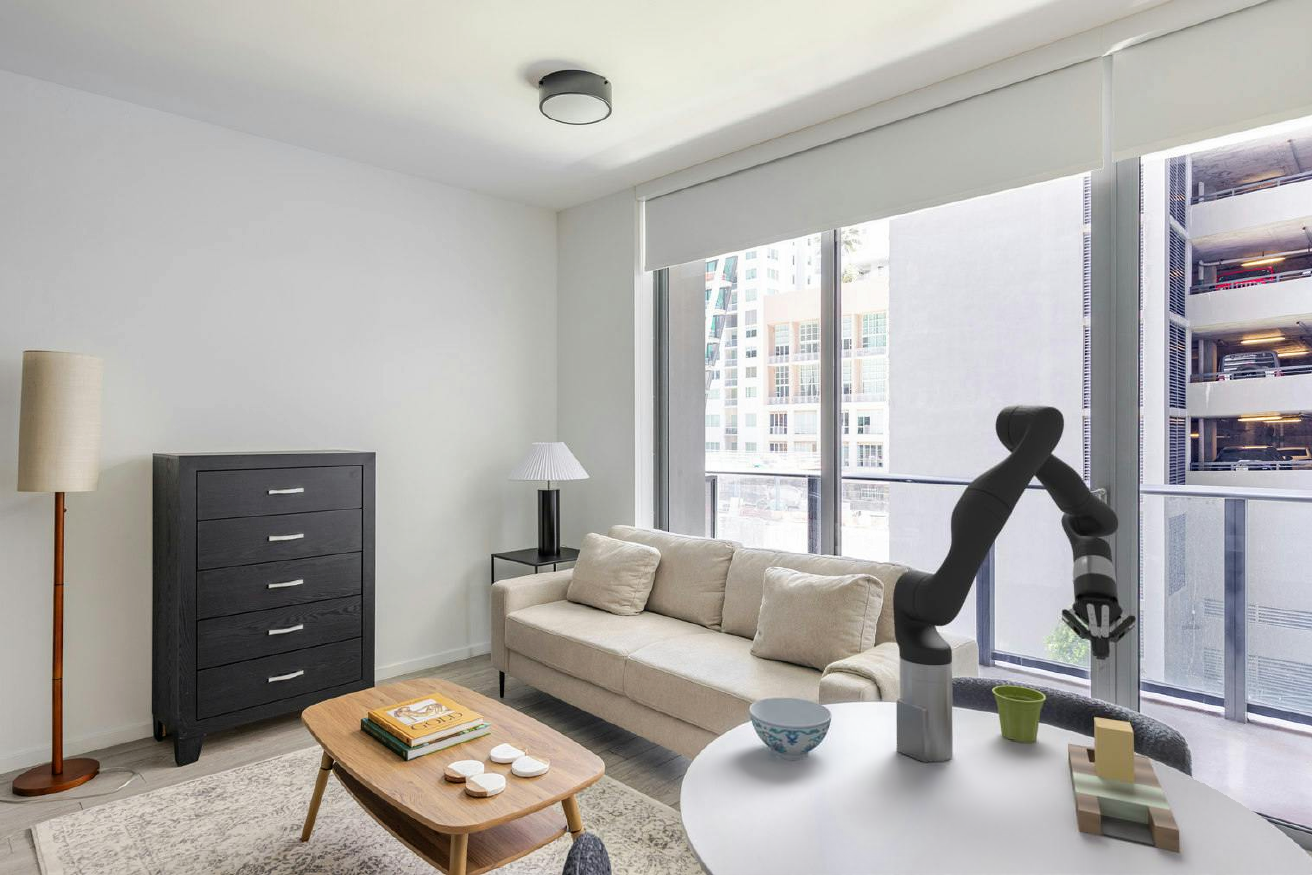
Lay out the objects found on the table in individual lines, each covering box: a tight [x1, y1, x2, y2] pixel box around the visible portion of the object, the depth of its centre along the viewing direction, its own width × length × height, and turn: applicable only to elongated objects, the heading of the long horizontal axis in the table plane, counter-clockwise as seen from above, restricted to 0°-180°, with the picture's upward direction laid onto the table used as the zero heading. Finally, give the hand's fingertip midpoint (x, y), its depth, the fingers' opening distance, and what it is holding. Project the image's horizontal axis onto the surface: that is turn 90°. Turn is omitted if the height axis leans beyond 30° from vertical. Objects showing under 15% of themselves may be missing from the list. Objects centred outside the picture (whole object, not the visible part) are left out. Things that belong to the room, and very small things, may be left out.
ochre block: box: [1093, 716, 1135, 783], centre depth 116 cm, size 5×5×8 cm
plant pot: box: [991, 685, 1047, 744], centre depth 139 cm, size 9×9×9 cm
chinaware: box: [749, 696, 832, 761], centre depth 130 cm, size 15×15×8 cm
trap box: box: [1067, 743, 1181, 853], centre depth 113 cm, size 28×12×3 cm, turn 152°
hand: (1101, 657), depth 133 cm, fingers closed
